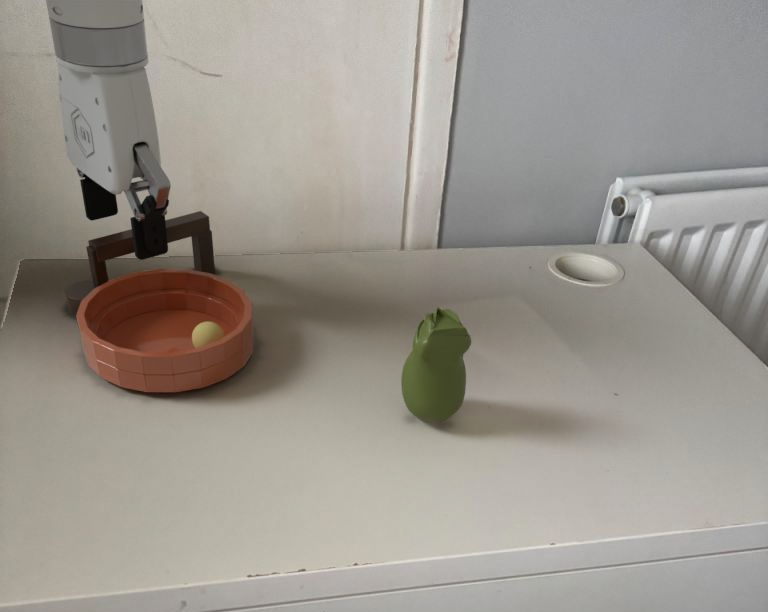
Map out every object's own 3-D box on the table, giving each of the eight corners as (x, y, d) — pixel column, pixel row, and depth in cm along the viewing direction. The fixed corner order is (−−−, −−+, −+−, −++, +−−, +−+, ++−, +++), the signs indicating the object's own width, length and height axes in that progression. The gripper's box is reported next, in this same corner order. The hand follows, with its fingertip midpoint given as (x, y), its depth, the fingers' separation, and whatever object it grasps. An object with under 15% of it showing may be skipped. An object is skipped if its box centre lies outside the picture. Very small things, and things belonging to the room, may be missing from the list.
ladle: (80, 322, 81) (67, 261, 76) (61, 305, 83) (48, 244, 78) (221, 278, 89) (217, 220, 84) (201, 263, 91) (196, 206, 86)
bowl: (56, 337, 78) (47, 297, 76) (198, 292, 86) (194, 254, 83) (137, 418, 70) (130, 377, 68) (286, 360, 78) (285, 320, 75)
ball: (184, 327, 77) (205, 347, 79) (185, 346, 75) (207, 366, 77) (209, 309, 76) (230, 330, 78) (211, 328, 74) (233, 349, 76)
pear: (447, 393, 76) (461, 294, 69) (471, 427, 73) (488, 327, 66) (390, 402, 74) (399, 302, 68) (412, 438, 71) (423, 336, 64)
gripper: (12, 19, 72) (50, 211, 84) (109, 77, 63) (136, 282, 75) (93, 11, 76) (118, 195, 88) (194, 65, 67) (207, 261, 79)
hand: (126, 235), depth 82 cm, fingers open, 9 cm apart
